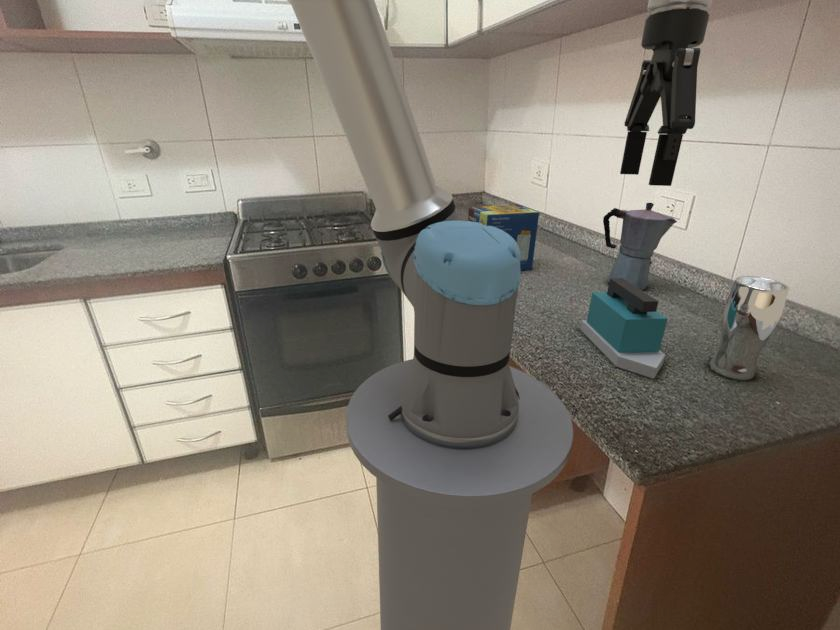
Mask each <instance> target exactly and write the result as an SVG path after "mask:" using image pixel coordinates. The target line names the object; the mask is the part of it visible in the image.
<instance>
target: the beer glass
mask: <svg viewBox="0 0 840 630" xmlns="http://www.w3.org/2000/svg"><path fill="white" fill-rule="evenodd" d="M789 291H790V286H789V285H787V284H785V283H783V282H781V281H779V280H775V279H771V278H767V277H761V276H754V275H740V276H737V277H735V280H734V282H733V285H732V286H731V289H730V291H729V294H728V296H727V298H726V302H725V305H724V308H723V312H722V318H721V326H720V337H719V343H718V346H717V349H716V351H715V353H714V355H713V356H712V357H711V358H710V359H711V360H710V361H709V367H710V369H711V370H712V371H713V372H715V373H717V374H718V375H721V376H722V377H725V378H728V379H732V380H737V381H749V380H752V379H754V377H755V374H756V365H757V361H758V358H759V355H760V354H761V351H762V350H763V348H764V346H765V345H766V343H767V342H768V340H769V339H770V337H771V336H772V334H773V332H774V331H775V330H776V327H777V326H778V324H779V321H780V319H781V317H782V314H783V312H784V309H785V306H786V303H787V298H788V294H789Z"/></svg>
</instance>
